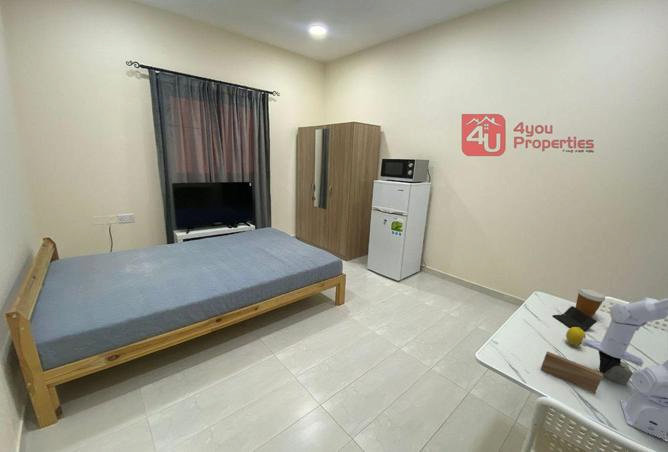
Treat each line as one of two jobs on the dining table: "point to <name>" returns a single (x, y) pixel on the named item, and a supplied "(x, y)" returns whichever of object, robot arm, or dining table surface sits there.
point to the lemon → (575, 335)
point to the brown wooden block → (571, 372)
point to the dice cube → (619, 373)
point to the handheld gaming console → (576, 319)
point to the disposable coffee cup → (589, 300)
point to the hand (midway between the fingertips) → (601, 371)
